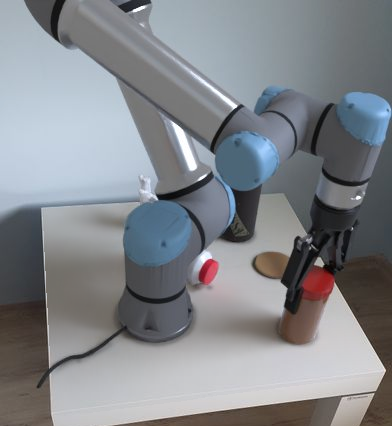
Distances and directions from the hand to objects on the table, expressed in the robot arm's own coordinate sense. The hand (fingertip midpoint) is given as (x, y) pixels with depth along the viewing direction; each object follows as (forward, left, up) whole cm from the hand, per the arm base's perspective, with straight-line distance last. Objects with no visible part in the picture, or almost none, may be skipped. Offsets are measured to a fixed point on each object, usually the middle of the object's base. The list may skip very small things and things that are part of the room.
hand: (305, 301), depth 101 cm
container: (+10, +33, -8) cm, 35 cm away
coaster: (+10, +18, -8) cm, 22 cm away
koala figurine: (-7, +45, -8) cm, 47 cm away
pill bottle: (-11, +31, -4) cm, 33 cm away
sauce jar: (0, 0, -8) cm, 8 cm away
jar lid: (0, 0, +6) cm, 6 cm away
